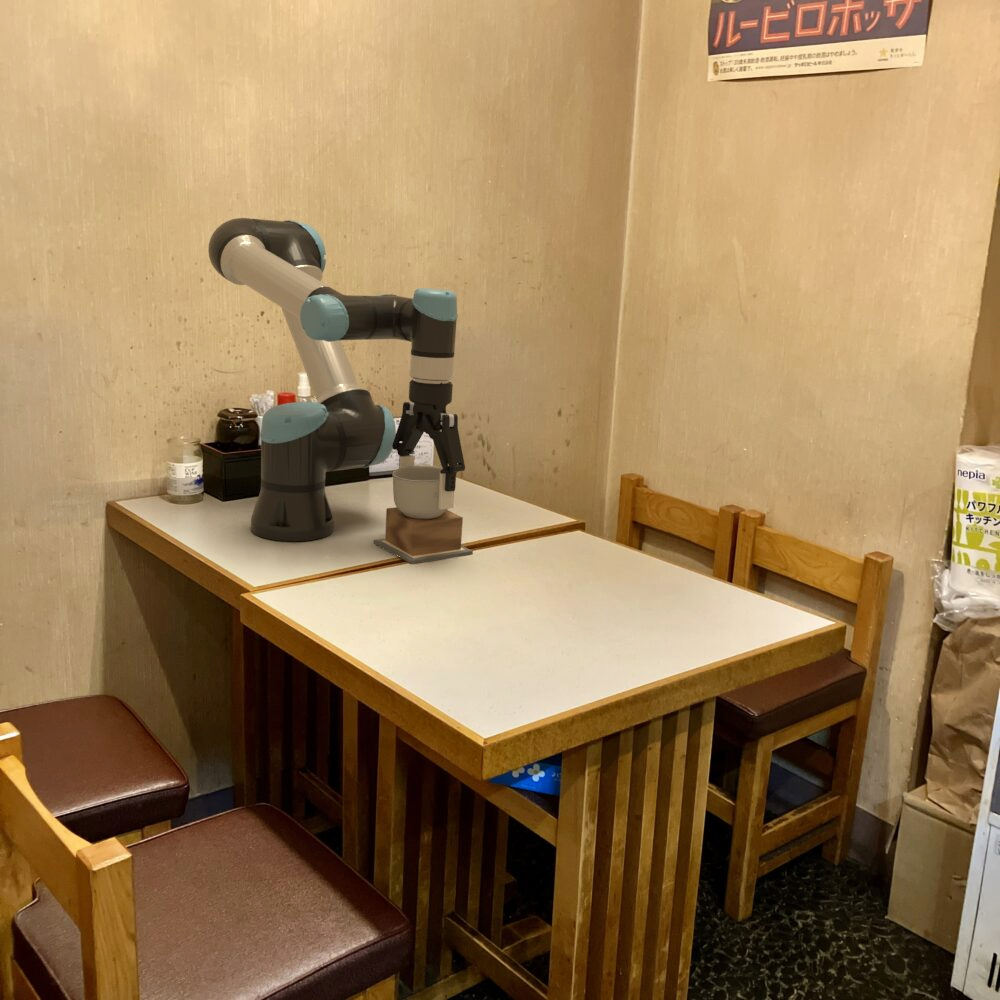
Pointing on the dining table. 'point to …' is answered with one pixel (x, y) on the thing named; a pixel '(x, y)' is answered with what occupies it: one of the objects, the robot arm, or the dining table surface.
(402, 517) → the brown wooden block
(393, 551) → the mat
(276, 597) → the dining table surface
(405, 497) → the teacup
